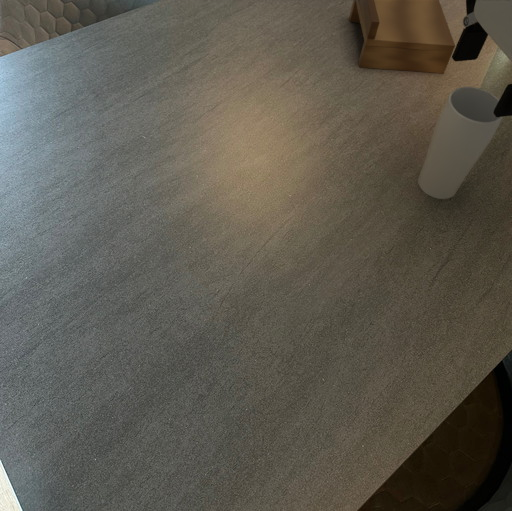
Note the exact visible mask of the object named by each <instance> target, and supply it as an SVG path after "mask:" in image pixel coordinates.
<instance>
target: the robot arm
mask: <svg viewBox="0 0 512 511" xmlns="http://www.w3.org/2000/svg"><path fill="white" fill-rule="evenodd" d="M465 8H466V12H465V13H466V15H465V16H464V17H463V19H462V25H463V27H464V28H463V29H462V32H461V34H460V36H459V38H458V41H457V43H456V44H455V48H454V50H453V52H452V55H451V59H452V60H453V61H454V62H467V61H475V60H477V59H478V58H479V57H480V56H479V55H480V54H481V51H482V49H483V47H484V45H485V43H486V41H487V39H488V37H490V38H491V40H492V41H493V43H495V44H496V46H497V47H498V48H499V50H500V51H501V52H502V53H503V55H505V57H506V58H507V59H508V60H510V62H512V0H465ZM493 113H494V115H495V116H496V117H503V118H504V117H511V116H512V83H508V84H507V85H506V86H505V89H504V91H503V93H502V94H501V96H500V98H499V102H498V103H497V105H496V107H495V109H494V112H493Z"/></svg>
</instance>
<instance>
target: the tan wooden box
mask: <svg viewBox="0 0 512 511" xmlns="http://www.w3.org/2000/svg"><path fill="white" fill-rule="evenodd" d="M350 9H351V10H350V12H349V16H348V19H349V22H350V23H360V27H361V33H362V36H363V37H362V38H363V44H362V46H361V47H362V48H361V51H360V55H359V59H358V62H357V63H358V68H363V69H364V68H365V69H376V70H379V69H380V70H389V71H390V70H392V71H406V72H419V73H434V74H445V71H446V69H447V66H448V65H449V62H450V60H451V58H452V55H453V52H454V50H455V48H456V44H455V42H454V38H453V36H452V32H451V30H450V27H449V24H448V21H447V18H446V16H445V13H444V10H443V7H442V4H441V2H440V0H352V5H351V8H350Z"/></svg>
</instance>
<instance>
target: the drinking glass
mask: <svg viewBox="0 0 512 511" xmlns="http://www.w3.org/2000/svg"><path fill="white" fill-rule="evenodd" d="M499 100H500V98H498V97H497V96H495V95H494V94H493V93H491V92H489V91H488V90H485V89H482V88H480V87H474V86H461V87H457V88H454V90H452V91H451V92H450V93H449V95H448V97H447V99H446V101H445V103H444V105H443V107H442V109H441V111H440V113H439V115H438V118H437V121H436V124H435V127H434V130H433V132H432V136H431V139H430V142H429V146H428V148H427V150H426V154H425V157H424V160H423V162H422V167H421V170H420V172H419V174H418V177H417V184H418V186H419V188H420V190H422V191H423V192H424V193H425V194H426V195H427V196H430V197H431V198H434V199H438V200H447V199H450V198H453V197H454V196H455V195H456V194H457V192H458V190H459V189H460V187H461V186H462V184H463V182H464V181H465V180H466V178H467V177H468V175H469V174H470V173H471V171H472V169H473V168H474V166H475V165H476V164H477V163H478V161H479V160H480V158H481V157H482V155H483V153H484V152H485V151H486V149H487V148H488V146H489V145H490V143H491V142H492V140H493V138H494V136H495V134H496V132H497V131H498V129H499V127H500V124H501V122H502V120H503V119H504V117H496V116H495V115H494V113H493V112H494V109H495V107H496V105H497V103H498V102H499Z"/></svg>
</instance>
